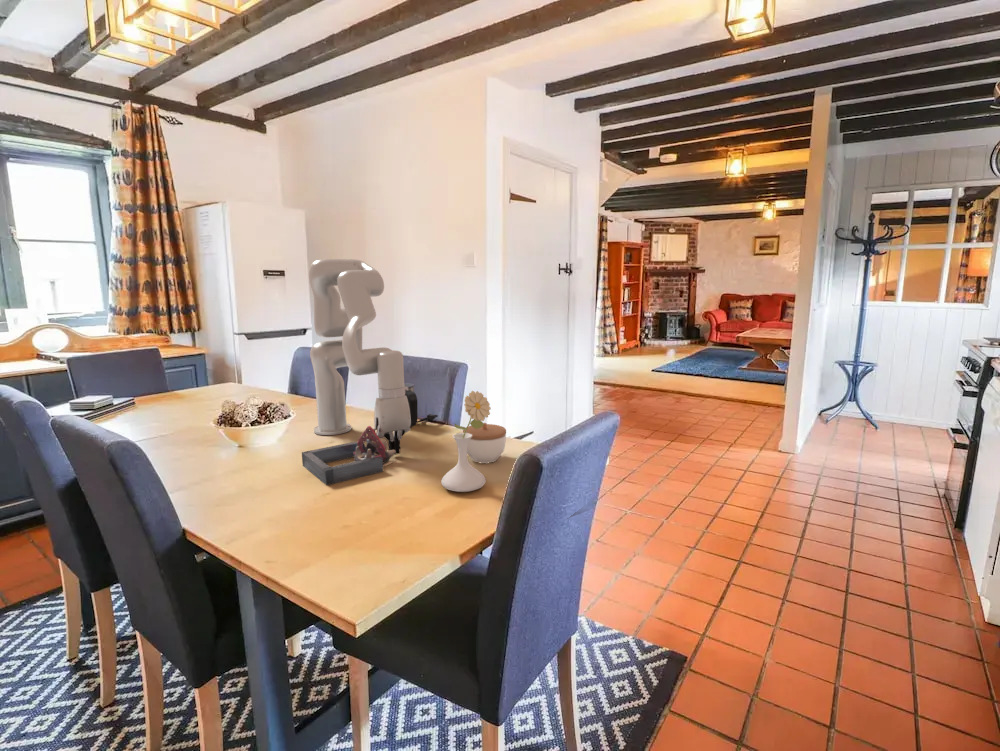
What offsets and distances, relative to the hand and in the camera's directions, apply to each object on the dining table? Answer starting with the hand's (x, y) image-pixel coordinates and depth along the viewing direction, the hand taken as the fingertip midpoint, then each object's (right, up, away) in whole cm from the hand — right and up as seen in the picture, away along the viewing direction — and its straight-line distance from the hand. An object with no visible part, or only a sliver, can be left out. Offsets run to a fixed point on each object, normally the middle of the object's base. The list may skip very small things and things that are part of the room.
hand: (394, 452), depth 161 cm
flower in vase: (+23, -6, -23) cm, 33 cm away
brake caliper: (-5, -2, -4) cm, 7 cm away
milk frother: (0, +5, +36) cm, 37 cm away
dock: (-12, -3, -9) cm, 15 cm away
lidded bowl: (+27, -2, -2) cm, 27 cm away
